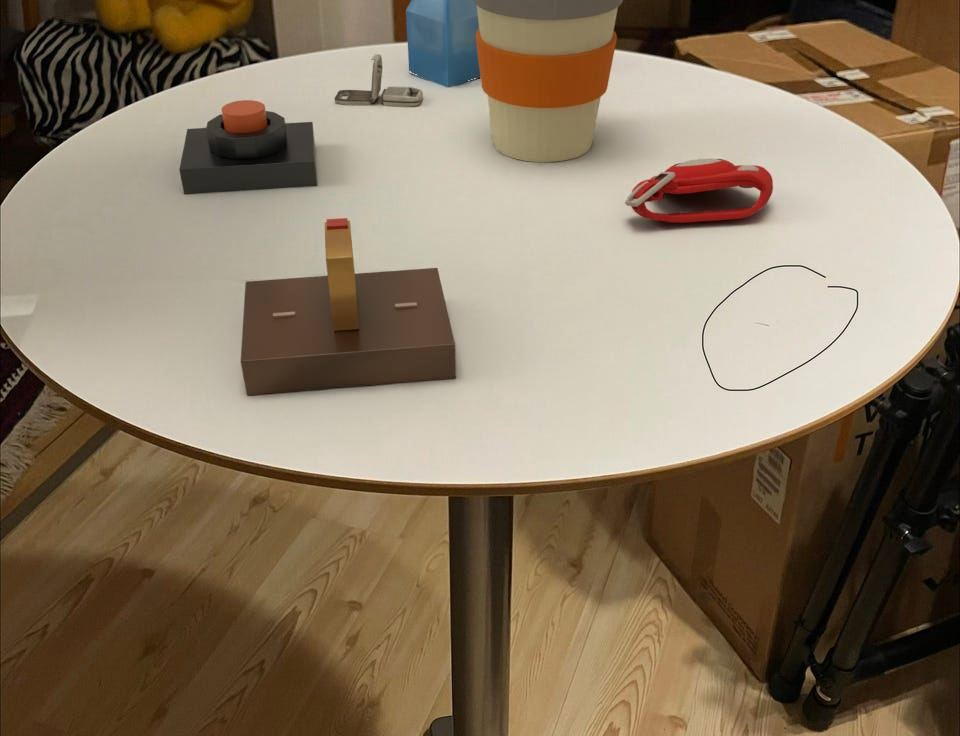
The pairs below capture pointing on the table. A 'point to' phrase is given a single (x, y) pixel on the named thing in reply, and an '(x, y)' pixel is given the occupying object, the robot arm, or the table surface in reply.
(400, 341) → the plate
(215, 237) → the table surface
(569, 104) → the reusable coffee cup
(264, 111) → the bell button
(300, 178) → the dark grey button base
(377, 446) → the table surface
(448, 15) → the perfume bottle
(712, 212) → the tracker holder
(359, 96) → the strap clip
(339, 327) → the thumb turn
